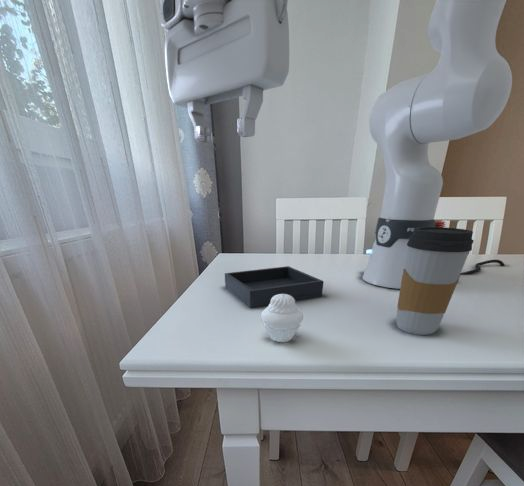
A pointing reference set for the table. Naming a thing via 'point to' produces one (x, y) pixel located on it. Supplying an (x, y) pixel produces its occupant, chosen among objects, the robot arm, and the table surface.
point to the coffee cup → (430, 276)
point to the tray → (272, 285)
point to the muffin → (282, 318)
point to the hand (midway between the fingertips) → (222, 139)
